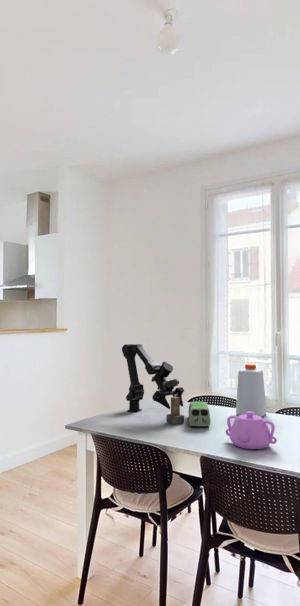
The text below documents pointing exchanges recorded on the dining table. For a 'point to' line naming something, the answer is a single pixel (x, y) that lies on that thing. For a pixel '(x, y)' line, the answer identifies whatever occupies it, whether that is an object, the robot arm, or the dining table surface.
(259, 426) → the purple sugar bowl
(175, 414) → the tall wooden pillar block
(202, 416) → the toy car
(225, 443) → the dining table surface
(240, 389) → the plastic bottle
